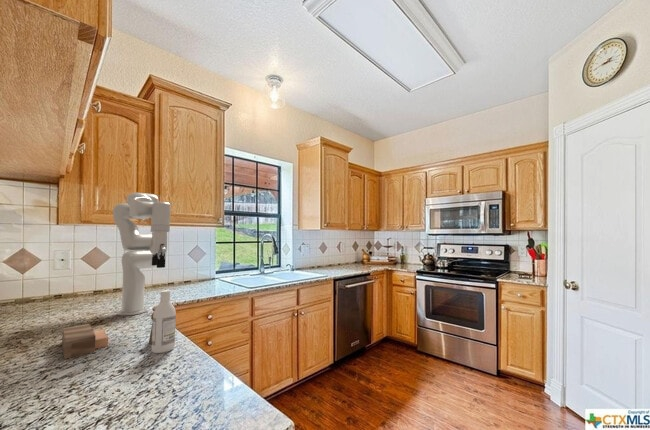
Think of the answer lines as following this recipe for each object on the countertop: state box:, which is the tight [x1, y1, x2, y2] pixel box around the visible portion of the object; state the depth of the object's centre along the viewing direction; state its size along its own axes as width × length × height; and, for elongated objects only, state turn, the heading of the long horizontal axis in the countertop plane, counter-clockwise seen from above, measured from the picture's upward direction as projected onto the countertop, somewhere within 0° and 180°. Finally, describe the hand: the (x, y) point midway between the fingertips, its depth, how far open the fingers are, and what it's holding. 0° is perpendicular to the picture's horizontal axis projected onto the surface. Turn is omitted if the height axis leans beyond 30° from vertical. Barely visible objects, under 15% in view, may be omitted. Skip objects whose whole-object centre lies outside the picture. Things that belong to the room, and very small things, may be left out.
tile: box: [93, 329, 109, 350], centre depth 101 cm, size 12×10×4 cm
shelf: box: [61, 323, 96, 359], centre depth 99 cm, size 19×8×5 cm, turn 45°
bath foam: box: [151, 289, 177, 354], centre depth 97 cm, size 7×7×20 cm
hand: (158, 266), depth 127 cm, fingers open, 9 cm apart
